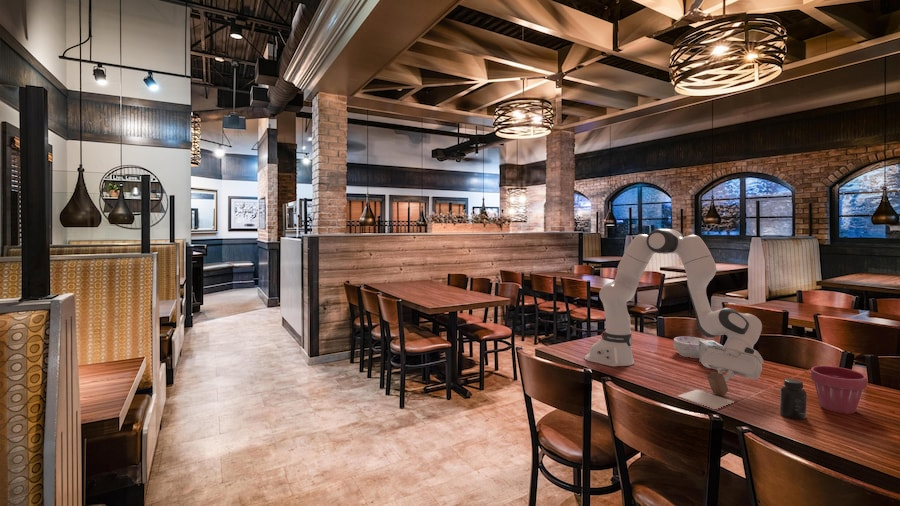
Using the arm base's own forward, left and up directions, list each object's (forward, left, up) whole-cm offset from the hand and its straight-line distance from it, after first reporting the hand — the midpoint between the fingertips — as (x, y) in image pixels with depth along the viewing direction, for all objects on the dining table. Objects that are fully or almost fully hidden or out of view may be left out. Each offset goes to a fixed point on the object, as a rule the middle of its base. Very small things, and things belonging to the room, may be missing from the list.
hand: (721, 380), depth 159 cm
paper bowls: (-18, +49, -6) cm, 52 cm away
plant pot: (+33, +8, -6) cm, 34 cm away
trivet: (-4, -9, -5) cm, 11 cm away
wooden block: (0, 0, -5) cm, 5 cm away
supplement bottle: (+21, -8, -6) cm, 23 cm away
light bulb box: (-8, +37, -6) cm, 38 cm away
